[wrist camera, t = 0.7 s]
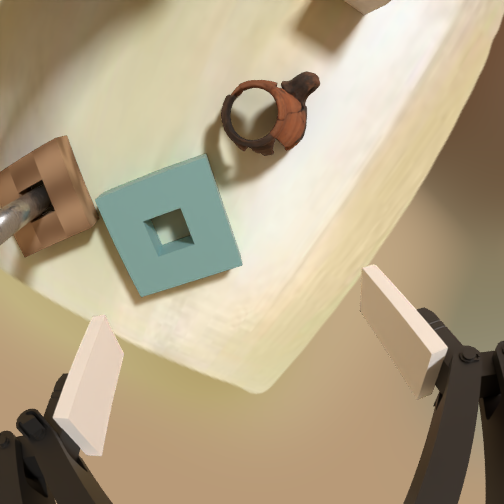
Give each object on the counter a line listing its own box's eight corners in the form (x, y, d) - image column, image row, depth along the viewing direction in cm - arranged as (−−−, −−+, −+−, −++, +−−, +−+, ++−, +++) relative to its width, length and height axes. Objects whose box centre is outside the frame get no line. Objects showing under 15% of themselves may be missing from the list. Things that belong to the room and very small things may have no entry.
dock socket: (103, 192, 38) (94, 199, 34) (206, 153, 37) (205, 157, 34) (145, 283, 44) (141, 297, 41) (240, 253, 44) (242, 265, 40)
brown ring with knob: (280, 170, 40) (255, 174, 33) (230, 121, 41) (197, 116, 33) (345, 102, 34) (335, 89, 27) (289, 54, 35) (266, 34, 28)
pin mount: (3, 173, 34) (-10, 178, 31) (66, 135, 34) (55, 138, 31) (35, 247, 39) (24, 257, 36) (99, 218, 39) (91, 227, 36)
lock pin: (35, 188, 36) (-24, 224, 23) (52, 179, 36) (-6, 212, 23) (43, 209, 37) (-11, 251, 25) (60, 200, 37) (7, 241, 24)
